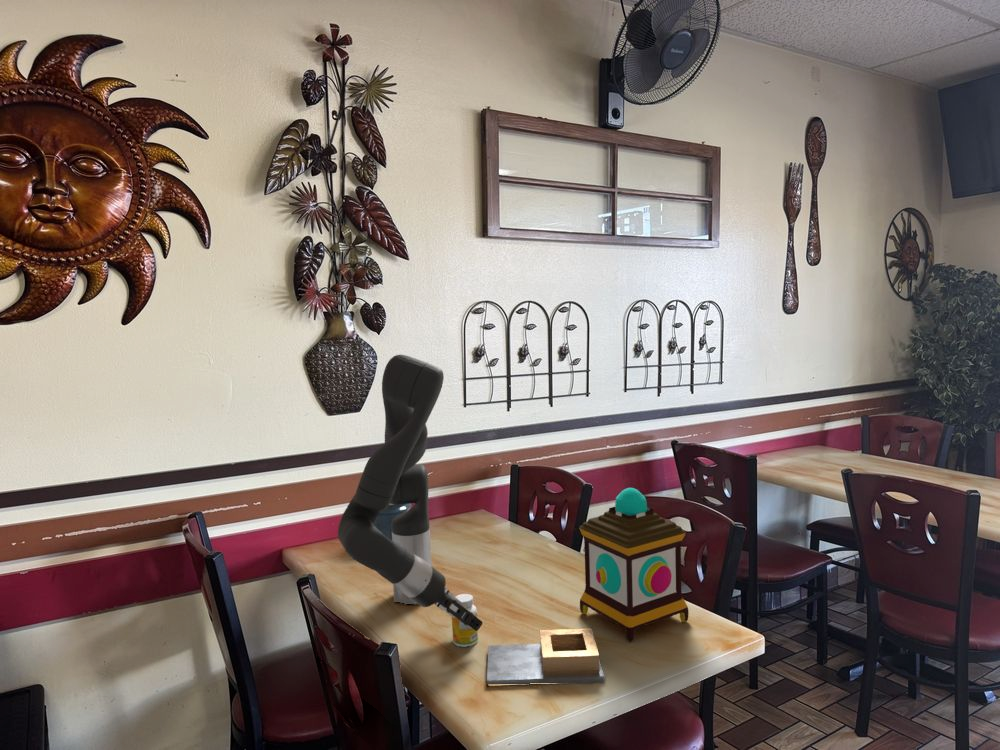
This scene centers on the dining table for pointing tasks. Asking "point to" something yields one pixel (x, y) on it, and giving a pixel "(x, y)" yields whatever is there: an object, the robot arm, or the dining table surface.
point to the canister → (389, 518)
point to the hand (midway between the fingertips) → (470, 618)
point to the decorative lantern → (633, 565)
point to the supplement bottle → (461, 632)
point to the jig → (547, 659)
